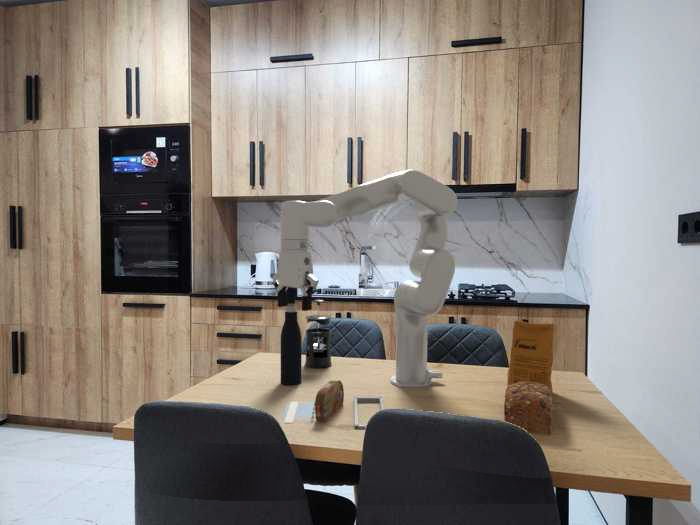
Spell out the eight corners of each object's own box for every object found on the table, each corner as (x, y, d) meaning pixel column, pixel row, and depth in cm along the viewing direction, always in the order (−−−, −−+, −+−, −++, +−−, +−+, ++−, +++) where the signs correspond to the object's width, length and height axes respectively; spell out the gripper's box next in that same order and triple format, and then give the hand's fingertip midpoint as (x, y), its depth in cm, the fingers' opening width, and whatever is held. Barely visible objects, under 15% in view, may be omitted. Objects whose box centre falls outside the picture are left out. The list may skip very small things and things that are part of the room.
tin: (324, 430, 112) (325, 394, 111) (312, 428, 113) (312, 393, 112) (344, 408, 126) (345, 376, 126) (333, 406, 127) (333, 375, 126)
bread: (552, 447, 104) (553, 402, 103) (501, 438, 108) (502, 395, 107) (550, 417, 121) (552, 378, 121) (506, 411, 125) (507, 373, 125)
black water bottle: (291, 388, 142) (291, 288, 140) (276, 383, 146) (276, 286, 144) (305, 382, 147) (306, 286, 145) (290, 378, 151) (291, 284, 149)
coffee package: (511, 389, 142) (513, 316, 141) (555, 397, 136) (558, 321, 134) (502, 399, 134) (504, 321, 133) (549, 407, 127) (552, 326, 126)
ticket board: (317, 407, 126) (317, 401, 126) (313, 428, 112) (313, 422, 112) (287, 406, 126) (287, 401, 126) (279, 428, 112) (279, 422, 112)
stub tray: (382, 405, 128) (382, 397, 128) (387, 435, 109) (388, 426, 108) (353, 404, 128) (353, 396, 128) (354, 435, 109) (354, 426, 108)
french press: (320, 369, 161) (321, 302, 160) (298, 365, 166) (298, 300, 165) (339, 361, 171) (339, 298, 170) (317, 358, 176) (317, 296, 175)
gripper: (327, 246, 127) (326, 310, 128) (283, 245, 138) (283, 303, 139) (306, 247, 121) (306, 313, 122) (263, 245, 133) (263, 306, 134)
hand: (294, 308), depth 131 cm, fingers open, 9 cm apart
